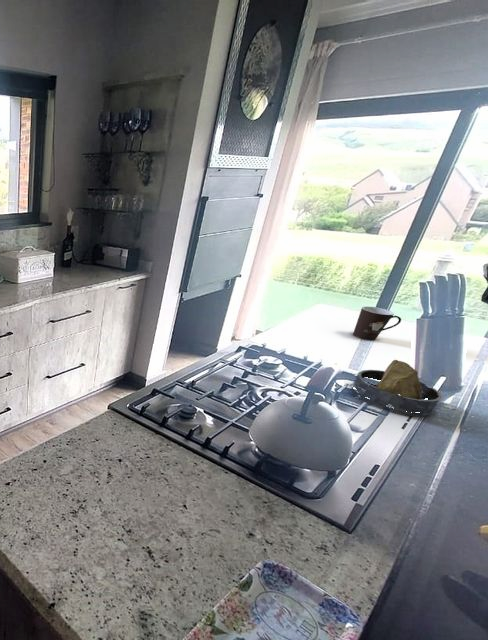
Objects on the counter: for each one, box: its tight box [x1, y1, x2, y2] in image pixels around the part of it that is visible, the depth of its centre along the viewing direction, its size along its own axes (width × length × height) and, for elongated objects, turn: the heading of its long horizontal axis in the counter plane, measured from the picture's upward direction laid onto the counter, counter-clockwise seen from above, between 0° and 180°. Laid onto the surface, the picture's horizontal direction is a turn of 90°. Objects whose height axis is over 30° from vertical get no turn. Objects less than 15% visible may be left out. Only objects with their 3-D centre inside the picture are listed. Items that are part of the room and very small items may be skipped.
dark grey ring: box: [350, 369, 443, 417], centre depth 105 cm, size 16×16×4 cm
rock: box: [376, 359, 422, 400], centre depth 104 cm, size 11×9×10 cm
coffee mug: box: [352, 305, 402, 342], centre depth 142 cm, size 12×9×10 cm
